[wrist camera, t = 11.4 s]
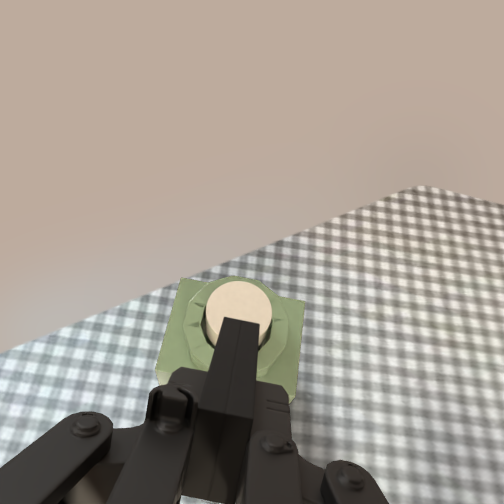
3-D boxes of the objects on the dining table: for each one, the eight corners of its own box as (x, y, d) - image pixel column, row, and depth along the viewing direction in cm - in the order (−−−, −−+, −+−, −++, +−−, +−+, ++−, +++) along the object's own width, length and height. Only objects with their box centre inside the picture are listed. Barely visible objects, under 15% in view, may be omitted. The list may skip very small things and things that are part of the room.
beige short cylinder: (270, 303, 32) (276, 287, 30) (262, 360, 30) (267, 348, 27) (212, 291, 32) (213, 275, 30) (199, 348, 30) (199, 335, 27)
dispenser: (281, 350, 44) (311, 289, 32) (271, 427, 40) (301, 389, 28) (184, 332, 44) (180, 263, 32) (165, 407, 40) (151, 360, 28)
